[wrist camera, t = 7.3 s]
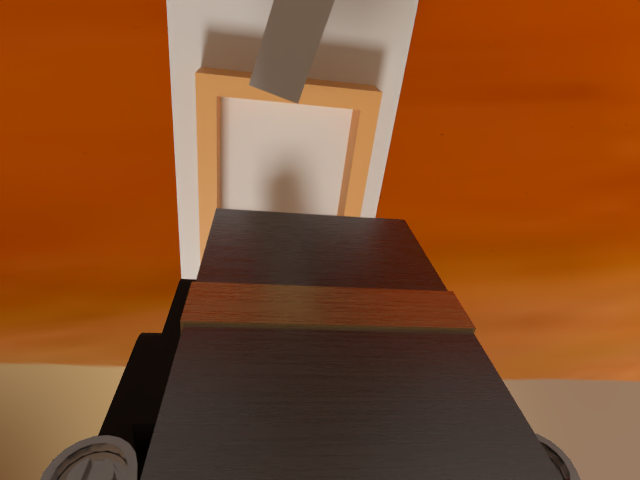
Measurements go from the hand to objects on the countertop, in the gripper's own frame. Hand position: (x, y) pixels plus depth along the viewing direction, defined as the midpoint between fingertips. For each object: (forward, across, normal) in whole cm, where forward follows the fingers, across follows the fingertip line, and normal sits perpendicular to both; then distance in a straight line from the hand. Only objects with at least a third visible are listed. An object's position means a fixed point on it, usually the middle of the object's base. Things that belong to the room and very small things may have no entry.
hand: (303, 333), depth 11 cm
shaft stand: (+12, 0, 0) cm, 12 cm away
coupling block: (+1, 0, 0) cm, 1 cm away
